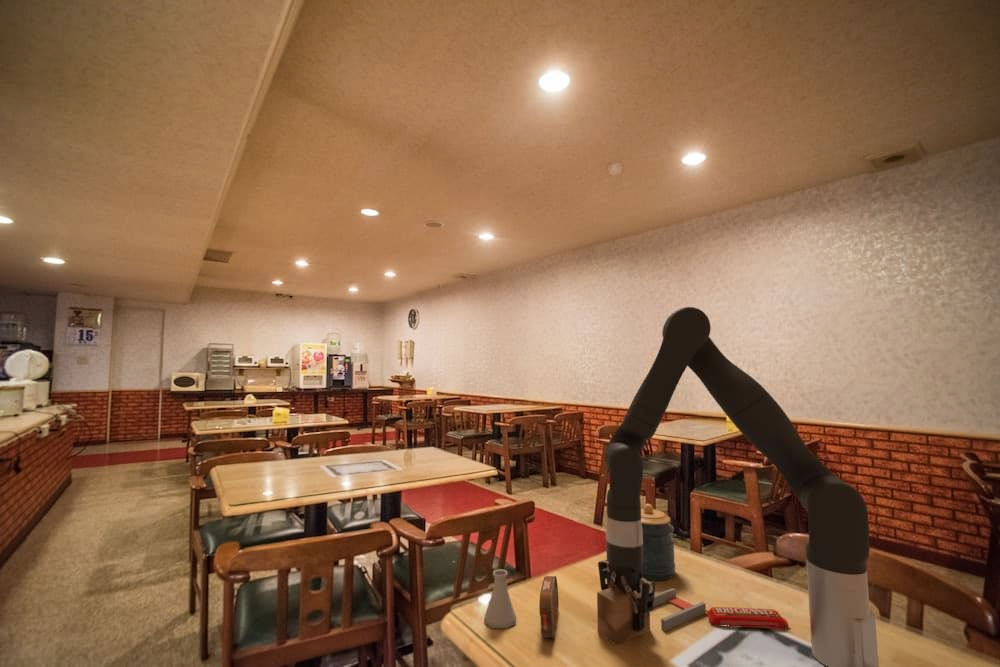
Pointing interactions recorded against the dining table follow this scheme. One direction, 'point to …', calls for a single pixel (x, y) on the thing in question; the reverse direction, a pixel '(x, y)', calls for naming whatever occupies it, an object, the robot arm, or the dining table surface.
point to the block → (617, 616)
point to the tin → (549, 606)
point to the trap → (680, 603)
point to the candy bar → (746, 617)
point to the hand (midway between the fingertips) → (626, 622)
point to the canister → (657, 545)
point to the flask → (500, 604)
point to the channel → (679, 616)
